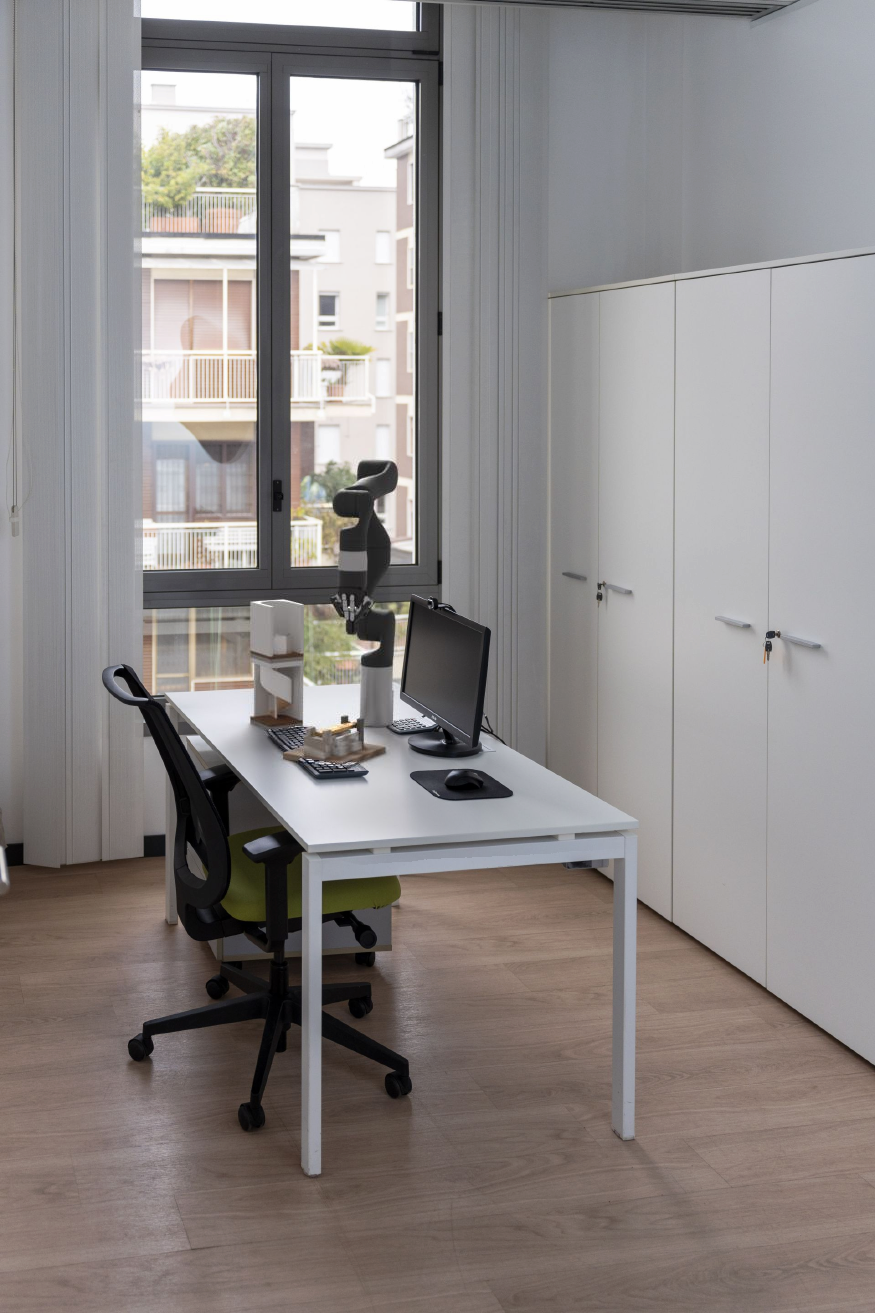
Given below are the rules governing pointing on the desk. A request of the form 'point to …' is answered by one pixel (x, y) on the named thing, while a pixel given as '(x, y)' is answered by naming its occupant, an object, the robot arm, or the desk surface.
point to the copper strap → (339, 728)
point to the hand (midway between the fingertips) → (351, 634)
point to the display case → (277, 663)
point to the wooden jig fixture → (336, 746)
